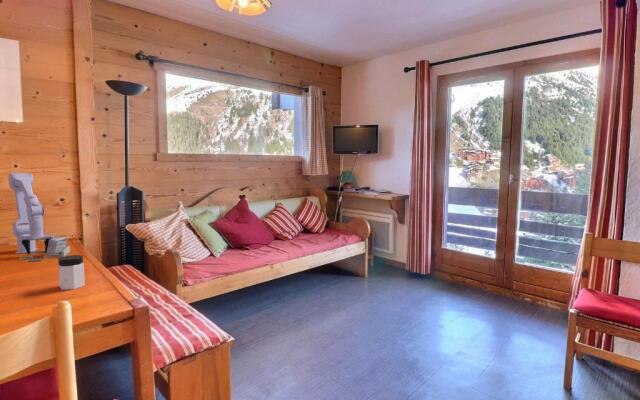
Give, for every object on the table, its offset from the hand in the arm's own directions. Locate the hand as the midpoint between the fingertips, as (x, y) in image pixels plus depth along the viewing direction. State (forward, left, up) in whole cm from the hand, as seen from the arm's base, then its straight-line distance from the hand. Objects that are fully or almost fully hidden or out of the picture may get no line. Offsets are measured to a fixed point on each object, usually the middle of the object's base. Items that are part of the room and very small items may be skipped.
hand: (37, 253), depth 194 cm
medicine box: (0, +8, -1) cm, 8 cm away
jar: (+66, +27, -2) cm, 71 cm away
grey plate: (0, +4, -2) cm, 4 cm away
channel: (0, +4, -2) cm, 4 cm away
